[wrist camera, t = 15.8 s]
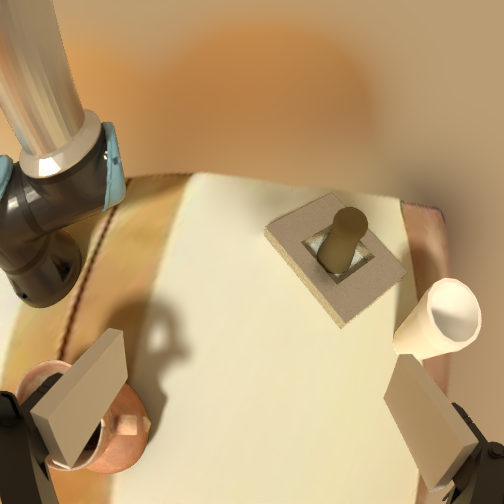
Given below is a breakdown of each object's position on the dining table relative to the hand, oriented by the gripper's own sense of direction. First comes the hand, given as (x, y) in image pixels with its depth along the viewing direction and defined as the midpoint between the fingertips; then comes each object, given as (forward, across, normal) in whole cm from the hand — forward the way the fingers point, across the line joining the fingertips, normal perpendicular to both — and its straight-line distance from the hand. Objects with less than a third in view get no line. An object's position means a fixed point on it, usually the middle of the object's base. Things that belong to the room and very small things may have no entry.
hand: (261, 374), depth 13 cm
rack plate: (+38, +13, -2) cm, 40 cm away
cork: (+38, +12, -3) cm, 40 cm away
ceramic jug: (+16, -20, -25) cm, 35 cm away
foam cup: (+28, +25, -13) cm, 39 cm away
